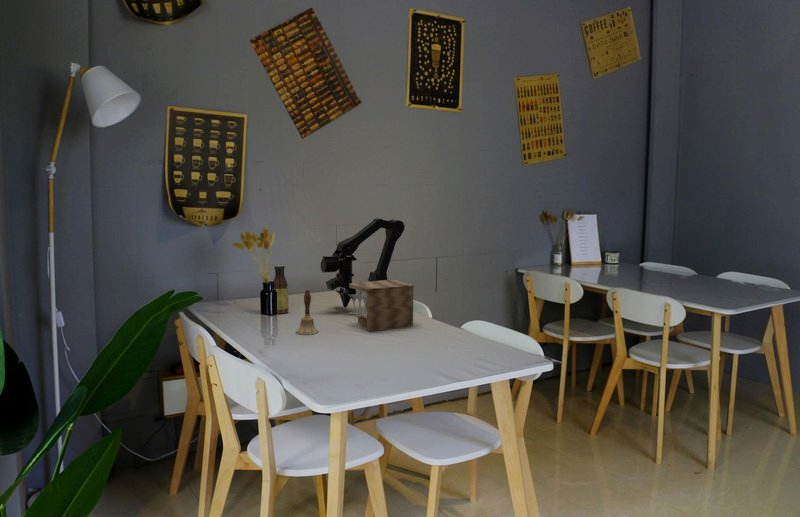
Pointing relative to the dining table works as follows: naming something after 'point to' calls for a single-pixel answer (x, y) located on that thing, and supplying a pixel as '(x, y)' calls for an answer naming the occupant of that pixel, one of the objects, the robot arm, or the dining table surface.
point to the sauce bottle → (281, 289)
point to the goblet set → (360, 296)
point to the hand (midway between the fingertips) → (345, 307)
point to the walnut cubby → (386, 304)
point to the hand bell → (307, 318)
